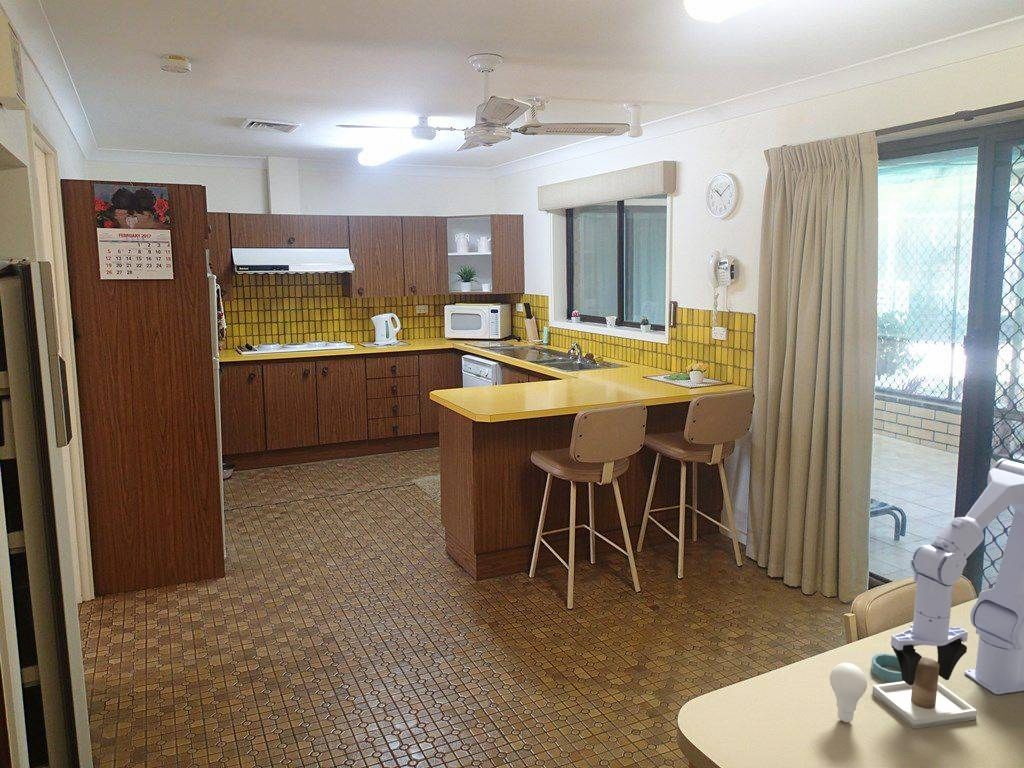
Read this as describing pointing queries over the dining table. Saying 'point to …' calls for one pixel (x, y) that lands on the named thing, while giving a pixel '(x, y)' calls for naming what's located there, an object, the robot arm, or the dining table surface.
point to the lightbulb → (847, 688)
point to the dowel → (925, 683)
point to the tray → (943, 713)
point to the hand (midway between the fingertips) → (925, 679)
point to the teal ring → (885, 673)
